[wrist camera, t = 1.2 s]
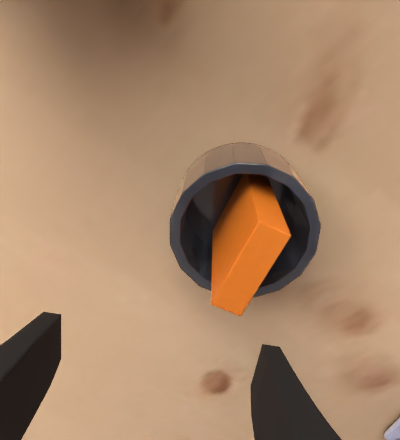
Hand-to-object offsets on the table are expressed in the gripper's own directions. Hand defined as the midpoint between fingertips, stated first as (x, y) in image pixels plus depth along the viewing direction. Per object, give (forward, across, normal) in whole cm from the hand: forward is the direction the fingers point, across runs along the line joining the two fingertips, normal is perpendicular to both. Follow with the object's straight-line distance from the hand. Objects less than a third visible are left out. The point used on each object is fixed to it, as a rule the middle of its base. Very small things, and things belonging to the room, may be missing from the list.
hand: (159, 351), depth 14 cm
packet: (+10, -3, -2) cm, 10 cm away
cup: (+10, -3, -2) cm, 11 cm away
